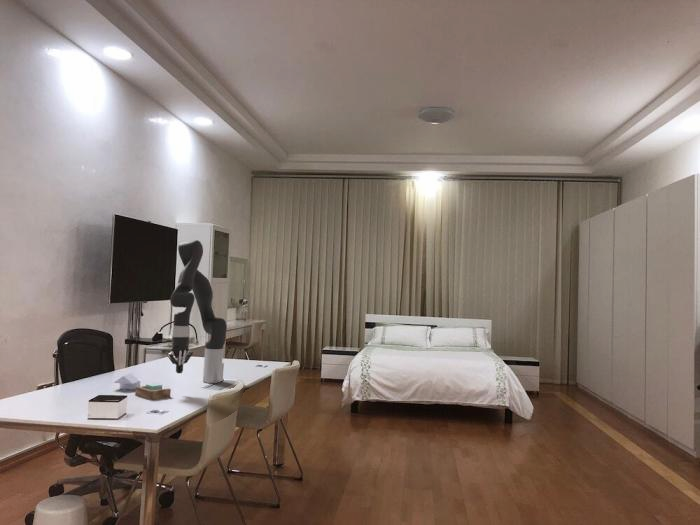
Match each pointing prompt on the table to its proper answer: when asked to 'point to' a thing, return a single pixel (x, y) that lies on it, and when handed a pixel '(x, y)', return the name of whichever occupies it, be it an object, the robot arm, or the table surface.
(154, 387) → the teal block
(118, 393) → the table surface
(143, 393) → the walnut bay
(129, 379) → the white toy house
